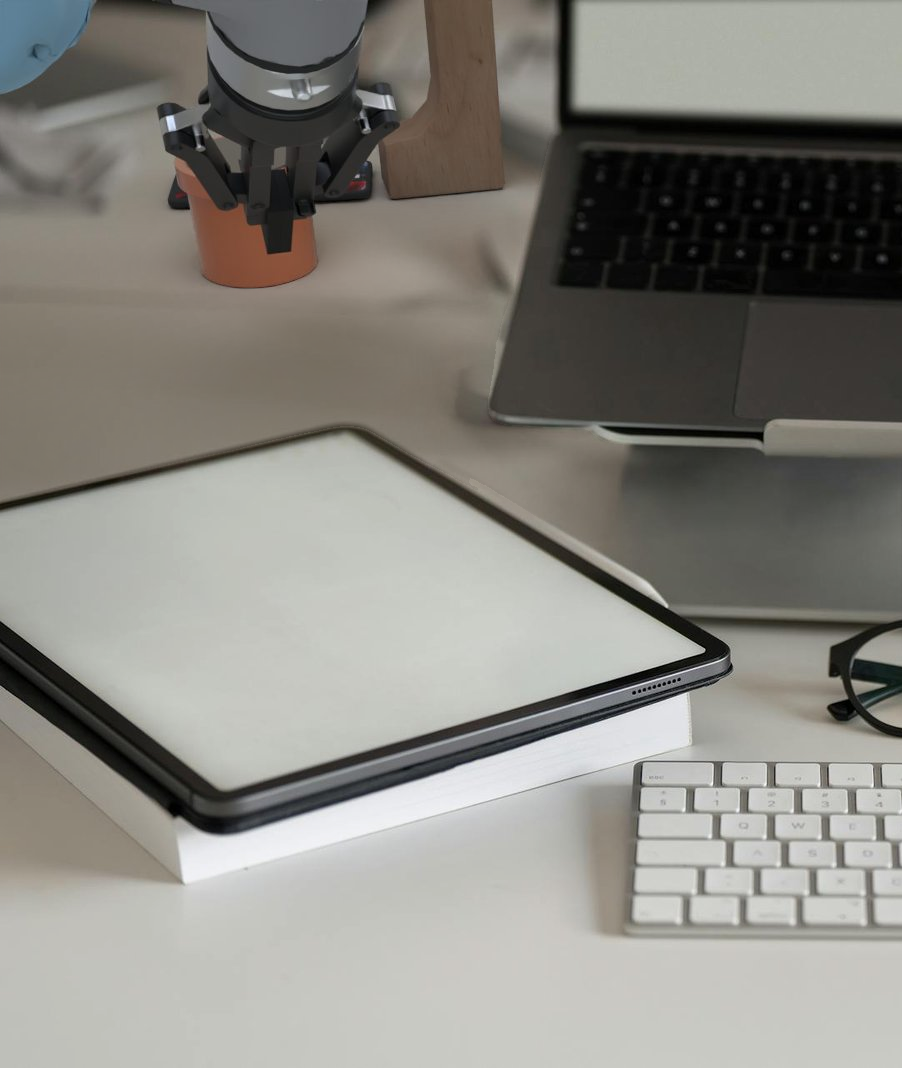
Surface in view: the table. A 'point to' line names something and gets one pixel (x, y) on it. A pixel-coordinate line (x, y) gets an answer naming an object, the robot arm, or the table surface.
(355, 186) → the smartphone
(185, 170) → the flower pot
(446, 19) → the wooden block
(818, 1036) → the table surface
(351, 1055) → the table surface
